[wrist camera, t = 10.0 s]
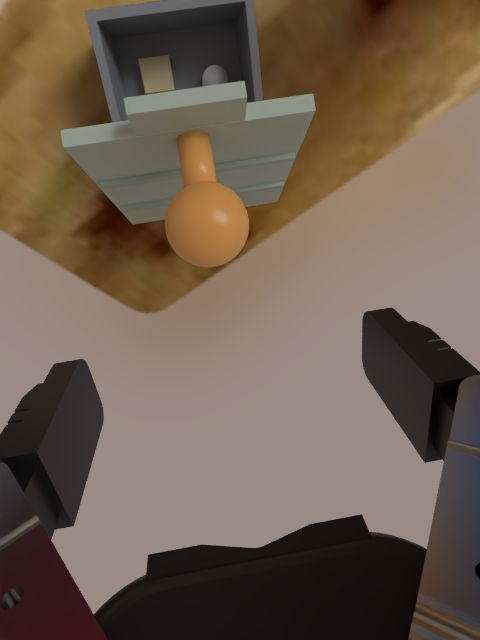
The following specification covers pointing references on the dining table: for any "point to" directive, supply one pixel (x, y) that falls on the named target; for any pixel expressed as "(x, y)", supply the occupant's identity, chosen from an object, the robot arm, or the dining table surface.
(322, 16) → the dining table surface
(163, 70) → the parts tub
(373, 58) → the dining table surface
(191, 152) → the lid
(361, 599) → the robot arm
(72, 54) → the dining table surface
